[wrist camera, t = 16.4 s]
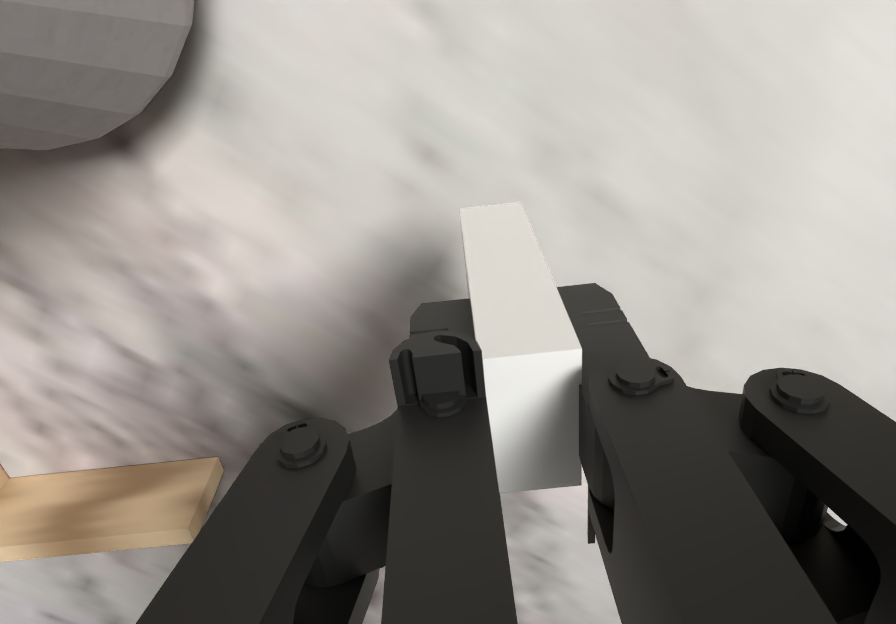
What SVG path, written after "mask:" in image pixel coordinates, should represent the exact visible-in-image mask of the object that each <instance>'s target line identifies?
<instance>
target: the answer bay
mask: <svg viewBox="0 0 896 624" xmlns="http://www.w3.org/2000/svg"><path fill="white" fill-rule="evenodd" d="M223 472H224V469H223V467H222V465H221V462H220V460H219V458H218V457H212V458H202V459H193V460H183V461H173V462H163V463H154V464H144V465H134V466H124V467H114V468H105V469H95V470H85V471H75V472H65V473H56V474H46V475H36V476H26V477H16V478H9V477H8V475H7V474H6V473H5V471H4V470H3V468H2V467H1V465H0V562H5V561H15V560H25V559H36V558H46V557H56V556H66V555H77V554H87V553H97V552H107V551H118V550H128V549H138V548H148V547H158V546H169V545H179V544H189V543H192V542H193V541H194V539H195V538H196V536H197V535H198V533H199V532H200V530H201V527H202V525H203V522H204V520H205V517H206V515H207V512H208V510H209V507H210V505H211V502H212V500H213V497H214V495H215V492H216V490H217V487H218V485H219V482H220V480H221V477H222V475H223Z"/></svg>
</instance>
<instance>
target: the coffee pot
mask: <svg viewBox="0 0 896 624" xmlns="http://www.w3.org/2000/svg"><path fill="white" fill-rule="evenodd" d="M194 2H195V0H0V148H7V149H27V150H50V149H55V148H59V147H64V146H68V145H73V144H77V143H81V142H86V141H90V140H95V139H99V138H100V137H102V136H104V135H105V134H107V133H109V132H110V131H112V130H114V129H115V128H117V127H119V126H120V125H122V124H124V123H126V122H127V121H129V120H131V119H132V118H134V117H136V116H137V115H139V114H140V113H141V112H142V110H143V109H144V108H145V107H146V106H147V104H148V103H149V102H150V101H151V100H152V98H153V97H154V96H155V95H156V94H157V92H158V91H159V90H160V89H161V88H162V86H163V85H164V84H165V83H166V82H167V80H168V79H169V78H170V77H171V75H172V74H173V71H174V69H175V66H176V64H177V61H178V59H179V56H180V54H181V51H182V49H183V46H184V44H185V41H186V39H187V36H188V33H189V31H190V28H191V26H192V22H193V12H194Z"/></svg>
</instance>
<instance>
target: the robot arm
mask: <svg viewBox="0 0 896 624" xmlns="http://www.w3.org/2000/svg"><path fill="white" fill-rule="evenodd" d="M459 210H460V219H461V229H462V239H463V248H464V258H465V267H466V277H467V287H468V296H469V299H460V300H451V301H442V302H432V303H423V304H421V305H420V306H419V307H418V309H417V310H416V311H415V313H414V314H413V315H412V316H411V320H410V336H409V339H408V340H405V341H403V342H402V343H401V344H400V345H399V346H398V347H396V348H395V349H394V350H393V352H392V354H391V357H390V359H389V363H390V368H391V374H392V379H393V384H394V389H395V394H396V400H397V405H398V409H397V410H396V411H395V412H394V413H393V414H392V415H391V416H390V417H388V418H387V419H385V420H383V421H382V422H380V423H378V424H376V425H373V426H371V427H369V428H366V429H363V430H360V431H357V432H354V433H351V434H348V435H347V432H346V429H345V428H344V427H342V426H341V425H340V424H338V423H337V422H336V421H332V420H328V419H323V418H313V419H303V420H300V421H297V422H293V423H290V424H287V425H285V426H283V427H282V428H280V429H278V430H277V431H275V432H273V433H272V434H270V435H269V436H268V437H267V438H266V439H265V441H264V442H263V443H262V444H261V445H260V446H259V447H258V448H257V450H256V451H255V453H254V454H253V456H252V457H251V459H250V460H249V461H248V463H247V464H246V466H245V467H244V469H243V470H242V471H241V473H240V474H239V476H238V477H237V479H236V480H235V482H234V483H233V484H232V486H231V487H230V489H229V490H228V492H227V493H226V495H225V496H224V497H223V499H222V500H221V502H220V503H219V505H218V506H217V507H216V509H215V510H214V512H213V513H212V515H211V516H210V518H209V519H208V520H207V522H206V523H205V525H204V526H203V528H202V529H201V531H200V532H199V533H198V535H197V536H196V538H195V539H194V541H193V542H192V543H191V545H190V546H189V548H188V549H187V551H186V552H185V554H184V555H183V556H182V558H181V559H180V561H179V562H178V564H177V565H176V567H175V568H174V569H173V571H172V572H171V574H170V575H169V577H168V578H167V579H166V581H165V582H164V584H163V585H162V587H161V588H160V590H159V591H158V592H157V594H156V595H155V597H154V598H153V600H152V601H151V603H150V604H149V605H148V607H147V608H146V610H145V611H144V613H143V614H142V615H141V617H140V618H139V620H138V621H137V623H136V624H362V623H363V620H364V617H365V614H366V611H367V608H368V606H369V603H370V600H371V597H372V594H373V591H374V588H375V586H376V583H377V580H378V577H379V570H380V568H382V567H384V566H386V568H385V581H384V595H383V608H382V621H381V624H517V616H516V609H515V602H514V595H513V587H512V580H511V573H510V566H509V558H508V551H507V544H506V537H505V530H504V522H503V515H502V508H501V501H500V493H507V492H517V491H527V490H537V489H548V488H558V487H568V486H578V485H581V464H582V467H583V470H584V473H585V476H586V480H587V483H588V544H590V543H595V535H596V538H597V541H598V545H599V548H600V552H601V555H602V558H603V562H604V565H605V569H606V572H607V575H608V579H609V582H610V585H611V589H612V592H613V596H614V599H615V602H616V606H617V609H618V613H619V616H620V619H621V623H622V624H896V422H895V421H893V420H892V419H890V418H889V417H887V416H886V415H884V414H883V413H881V412H880V411H878V410H877V409H875V408H874V407H872V406H871V405H869V404H868V403H866V402H865V401H863V400H862V399H860V398H859V397H858V396H856V395H855V394H853V393H852V392H850V391H849V390H847V389H846V388H844V387H843V386H841V385H840V384H838V383H836V382H834V381H832V380H830V379H828V378H826V377H824V376H822V375H818V374H815V373H811V372H808V371H804V370H800V369H790V368H775V369H767V370H762V371H760V372H758V373H756V374H754V375H752V376H750V377H749V379H748V380H747V382H746V383H745V385H744V389H743V394H735V393H725V392H715V391H707V390H701V389H695V388H691V387H688V386H686V384H685V383H684V381H683V379H682V378H681V376H680V375H679V374H678V373H677V372H676V371H675V370H674V369H673V368H672V367H670V366H668V365H666V364H664V363H662V362H660V361H658V360H655V359H651V358H650V357H649V356H648V354H647V352H646V351H645V349H644V347H643V346H642V344H641V342H640V340H639V339H638V337H637V335H636V334H635V332H634V330H633V328H632V327H631V325H630V323H629V322H627V318H626V317H625V315H624V313H623V311H622V310H620V306H619V305H618V303H617V301H616V300H615V298H614V296H613V294H612V293H610V292H608V291H607V290H605V289H604V288H602V287H600V286H599V285H597V284H596V283H591V284H582V285H572V286H563V287H556V285H555V283H554V280H553V278H552V275H551V273H550V270H549V268H548V266H547V263H546V261H545V258H544V256H543V254H542V251H541V249H540V246H539V244H538V242H537V239H536V237H535V234H534V232H533V230H532V227H531V225H530V222H529V220H528V218H527V215H526V213H525V210H524V208H523V206H522V203H521V201H520V202H511V203H502V204H493V205H485V206H476V207H467V208H459ZM828 507H829V508H830V509H831V510H832V511H833V512H834V513H835V514H836V515H838V516H839V517H840V518H841V519H842V520H843V521H844V522H845V523H846V524H848V525H847V526H844V525H842V524H840V523H839V522H838V521H836V520H835V519H834V518H832V517H831V516H830V515H829V514H828V513H827V509H828Z"/></svg>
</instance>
